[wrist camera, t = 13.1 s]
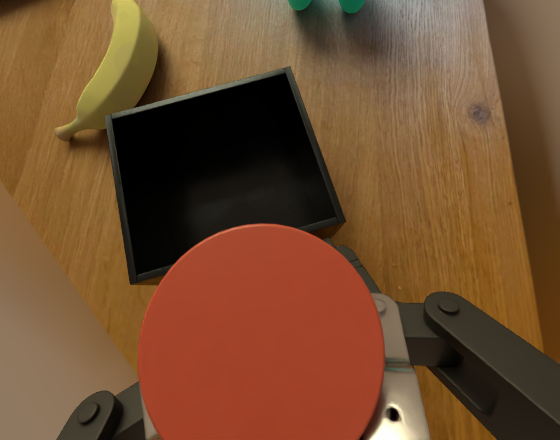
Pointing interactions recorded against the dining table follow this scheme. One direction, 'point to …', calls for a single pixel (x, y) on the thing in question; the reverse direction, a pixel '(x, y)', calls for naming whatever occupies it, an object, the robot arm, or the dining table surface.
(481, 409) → the robot arm
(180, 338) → the striped red cylinder
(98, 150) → the dining table surface
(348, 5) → the green wheel pair
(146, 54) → the banana
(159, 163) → the bin
